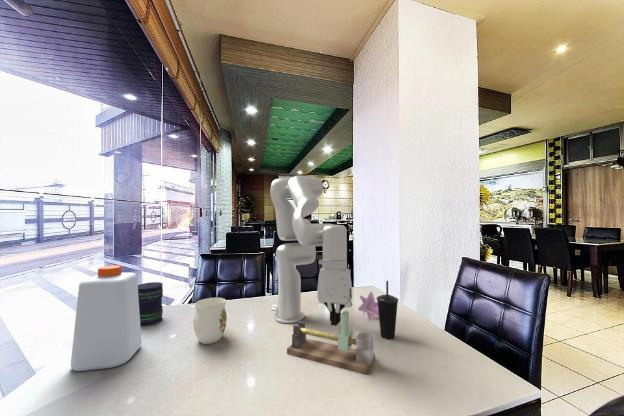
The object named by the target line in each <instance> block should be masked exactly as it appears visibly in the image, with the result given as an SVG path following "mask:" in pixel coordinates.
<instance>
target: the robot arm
mask: <svg viewBox="0 0 624 416" xmlns="http://www.w3.org/2000/svg"><path fill="white" fill-rule="evenodd" d="M269 189H270V191H269V192H270V199H271V202H272V205H273V207H274V211H275V219H276V220H275V221H276V229H277V230H276V231H277V236H278V238H279V240H281V241H286V242H287V241H297V242H292V243H291V242H290V243H283V244H281V245H279V246H278V247H277V248H276V251H275V257H276V263H277V279H278V287H277V288H278V291H277V292H278V294H277V295H278V297H277V299H278V300H277V303H278V304H272V305H271V311H272V312H275V314H274V320H275V321H277V322H278V323H283V324H294V323H298V322H299V321H303V320H304V318H305V314H304V312H303V311H301V308H302V306H301V302H302V299H301V298H302V297H301V293H302V292H301V291H302V290H301V274H300V272H299V271H298V269H297V268H296V266H302V265H310V264H312V263H314V262H315V261H316V257H317V252H316V251H317V250H316V247H322V259H319V260H318V264H319V265H321V268H319V273H318V280H317V291H316V292H317V293H316V295H317V296H316V297H317V300H318V303H319V304H322V305H324V306H325V307H326V308H327V311H328V312H329V322H330V326H334V327H337V326H338V325H339V324H341V314H342V313H341V311H342V310H343V309H347V308H351V307H352V306H353V302H352V299H353V289H352V287H353V286H352V279H351V274H350V269H349V268H348V258H347V257H348V256H347V255H348V247H347V246H348V243H347V242H348V241H347V240H348V238H347V237H348V236H347V232H348V231H347V227H346V226H345V225H341V224H333V223H312V222H311V221H310V220H309V219H306V217H307V216H310V215H311V214H313V213H314V212H316V211H317V210H318V208H319V205H320V201H319V199H318V198H319V197H321V196H322V195H323V193H324V183H323V181H322V179H320V178H319V177H317V176H308V175H294V176H291V178H287V177H280V178H276V179H274V180H272V182H271V185H270V188H269ZM288 198H289V199H292V201H293V202H294V205H295V207H296V209H295V207H294V206H293V204H292V202H290V201H289V200H288Z"/></svg>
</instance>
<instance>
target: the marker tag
mask: <svg viewBox="0 0 624 416" xmlns="http://www.w3.org/2000/svg"><path fill="white" fill-rule="evenodd" d="M337 335H338V341H337V345H338V349H339V350H343V351H347V352H348V350H349V349H350V348H351V347H352V346H353V344H349V337H350V338H353V330H352V329H350V310H348V309H345V310H344V311H342V313H341V321H340V331H339V333H338V334H337Z"/></svg>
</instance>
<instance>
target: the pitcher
mask: <svg viewBox="0 0 624 416" xmlns="http://www.w3.org/2000/svg"><path fill="white" fill-rule="evenodd" d="M226 302H227V301H226V299H225V298H223V297H207V298H203V299H200V300H198V301H196V302H195V303H194V306H195V313H194V316H193V330H194V333H195V336H196V338H197V340H199V342H200V343H201V344H203V345H204V344H205V345H208V344H209V345H211V344H214V343H217V342H218V341H220V340H221V338H222V337H223V334H224V333H225V330H226V327H227V320H228V317H227V315H228V314H227V312H226V311H227V310H226Z"/></svg>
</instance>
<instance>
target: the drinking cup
mask: <svg viewBox="0 0 624 416" xmlns="http://www.w3.org/2000/svg"><path fill="white" fill-rule="evenodd" d="M385 288H386V289H385V290H386V291H385V292H386V294H381V295H379V296H377V297H376V302H378V312H379V318H378V321H379V322H378V323H379V331H380V337H381V338H382V339H383V340H387V341H388V340H394V339H395V334H396V324H397V315H398V314H397V313H398V304H399V298H398V297H396V296H393V295H392V294H389V280H386V283H385Z"/></svg>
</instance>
